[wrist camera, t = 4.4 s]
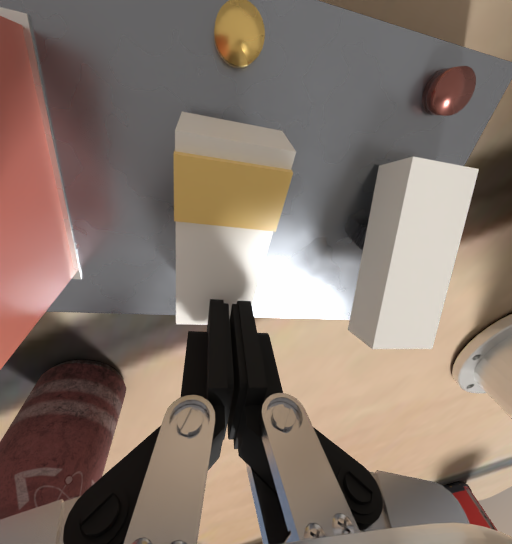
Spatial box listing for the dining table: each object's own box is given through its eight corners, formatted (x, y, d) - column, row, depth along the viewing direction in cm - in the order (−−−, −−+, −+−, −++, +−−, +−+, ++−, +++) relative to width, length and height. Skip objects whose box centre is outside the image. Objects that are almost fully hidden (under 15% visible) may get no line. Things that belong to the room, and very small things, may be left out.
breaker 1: (282, 131, 9) (298, 154, 7) (242, 294, 14) (246, 329, 12) (181, 111, 8) (173, 132, 6) (179, 291, 13) (175, 327, 12)
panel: (460, 72, 13) (551, 60, 10) (358, 293, 20) (389, 333, 17) (-219, -126, 8) (-574, -318, 4) (-33, 273, 15) (-107, 326, 11)
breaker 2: (436, 175, 13) (478, 169, 11) (400, 330, 14) (432, 348, 12) (378, 165, 12) (412, 156, 10) (347, 329, 13) (372, 349, 12)
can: (35, 351, 19) (-257, 771, 7) (131, 361, 20) (31, 700, 9) (39, 402, 21) (-164, 760, 10) (123, 406, 23) (39, 709, 12)
